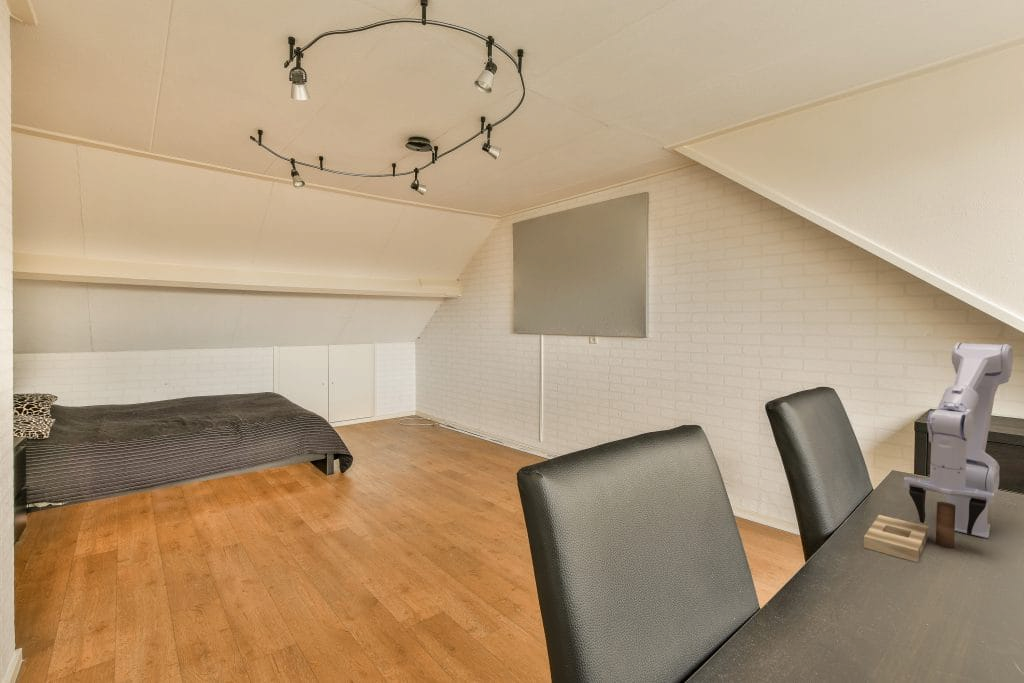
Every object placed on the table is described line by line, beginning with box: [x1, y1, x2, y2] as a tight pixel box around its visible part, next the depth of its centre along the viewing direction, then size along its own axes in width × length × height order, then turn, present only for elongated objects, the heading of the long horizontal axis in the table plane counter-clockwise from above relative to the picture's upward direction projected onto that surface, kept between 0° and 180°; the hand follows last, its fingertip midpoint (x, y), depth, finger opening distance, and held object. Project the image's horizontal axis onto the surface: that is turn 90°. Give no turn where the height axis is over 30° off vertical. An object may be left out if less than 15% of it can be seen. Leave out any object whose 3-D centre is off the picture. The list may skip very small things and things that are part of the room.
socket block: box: [863, 514, 929, 563], centre depth 107 cm, size 16×9×2 cm, turn 134°
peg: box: [935, 501, 956, 549], centre depth 106 cm, size 3×3×9 cm
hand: (945, 526), depth 106 cm, fingers open, 7 cm apart
